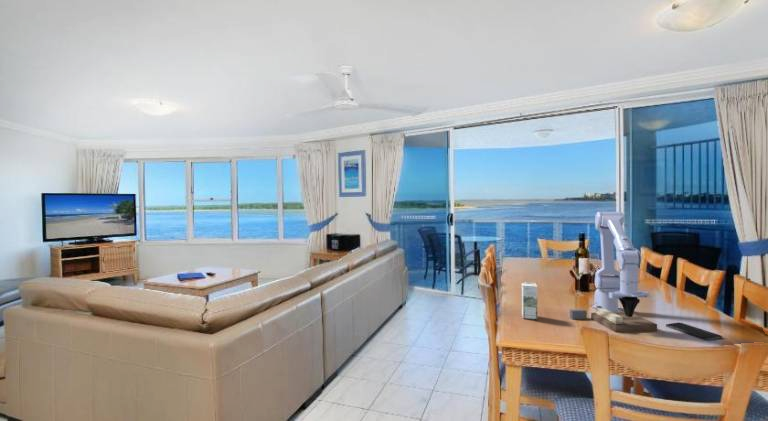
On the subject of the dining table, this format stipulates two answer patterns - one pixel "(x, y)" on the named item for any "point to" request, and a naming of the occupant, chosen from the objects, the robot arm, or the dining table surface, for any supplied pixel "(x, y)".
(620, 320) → the folding leg
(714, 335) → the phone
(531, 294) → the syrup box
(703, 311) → the dining table surface
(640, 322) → the stool seat
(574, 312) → the stop block
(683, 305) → the dining table surface
